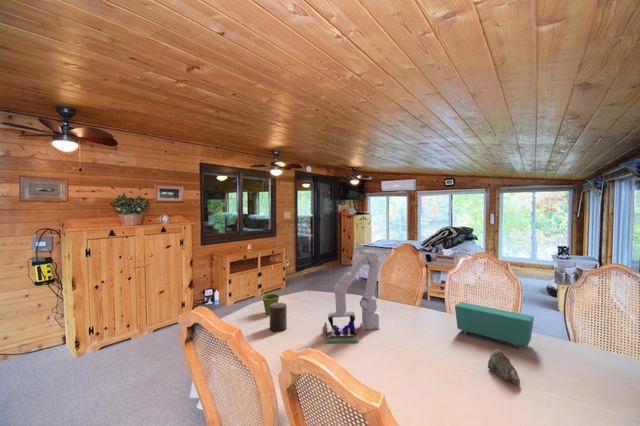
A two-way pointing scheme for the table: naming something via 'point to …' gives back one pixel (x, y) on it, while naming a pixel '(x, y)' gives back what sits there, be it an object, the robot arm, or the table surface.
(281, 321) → the pillar candle
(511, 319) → the radio
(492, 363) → the mineral rock
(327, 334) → the guide rails
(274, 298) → the plant pot
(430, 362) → the table surface
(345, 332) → the cable clip
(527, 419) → the table surface
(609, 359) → the table surface
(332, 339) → the header board
